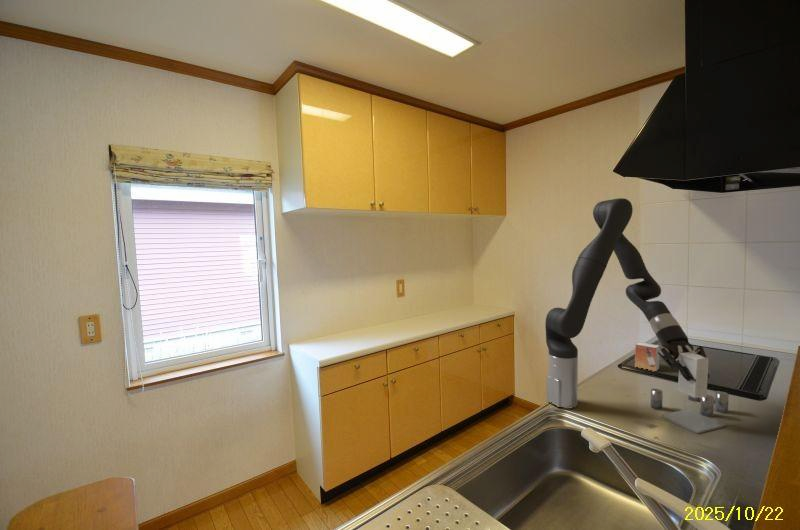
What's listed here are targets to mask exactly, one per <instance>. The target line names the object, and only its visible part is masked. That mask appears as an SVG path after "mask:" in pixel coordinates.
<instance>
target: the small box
mask: <svg viewBox="0 0 800 530" xmlns="http://www.w3.org/2000/svg"><path fill="white" fill-rule="evenodd" d="M660 346H661V345H660V344H653V343H652V344H651V343H644V342H640V341H639V342H637V343H636V344H635V349H634V350H635V351H634V353H635V354H634V368H636V367H638V369H641V368H643V369H642V370H646V369H648V370H647V371H650V370H652V371H651V372H654V371H656V372H657V371H658V370H659V369H660V355H659V354H658V352H659V351H660V350H661V349H660Z"/></svg>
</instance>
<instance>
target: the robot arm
mask: <svg viewBox="0 0 800 530" xmlns="http://www.w3.org/2000/svg"><path fill="white" fill-rule="evenodd" d="M592 216H593V219H594V221H595V223H596V225H597V226H598V228H599V229H600V231H599V233H598V234H597V236H595V237H594V239H593V240H592V241H590V242H589V243H588V244H587V245H586V247H584V249H583V250H581V252H580V253H579V255H578V257H577V259H576V262H575V264H574V266H573V269H572V273H571V283H572V294H571V297H570V300H569V301H568V304H567V307H566V308H563V307H553V308H551V309H550V310H549V311H548V312H547V314H546V317H545V323H544V324H545V339H546V340H545V341H546V346H547V348H548V374H547V375H546V377H545V378H546V380H545V381H546V383H545V384H546V389H545V391H546V393H545V394H546V395H545V396H546V399H545V400H546V402H547V403H549V402H550V401H551V400H552V401H551V402H552V403H553V404H555V405H557V406H559V407H569V408H568V409H571V408H570V407H575V408H577V407H578V398H579V397H578V396H579V395H578V390H579V389H578V383H579V382H578V381H579V380H578V375H579V374H578V373H579V372H578V371H579V370H578V368H579V366H578V364H579V360H578V357H579V354H578V353H579V351H578V348H577V346H576V345H575V344H574V343H573V341H572V339H573V338H575V337H577V336H579V335H580V333H581V332H582V330H583V329H584V325H585V323H586V319H587V316H588V313H589V311H590V306H591V304H592V301H593V298H594V296H595V294H596V292H597V288H598V286H599V284H600V282H601V279H602V278H603V275H604V274H605V273H604V272H605V271H606V269H607V267H608V264H609V260H610V259H611V256H612V254H613V253H614V254H615V256H616V258H617V260H618V263H619V265H620V268H621V270H622V272H623V275H624V277H625V278H626V279H628V280H642V279H643V280H642V281H638V282H636V283H631V284H629V285H628V286H627V287H626V288H625V295H626V298H628V299H629V300H630V302H631V303H633V304H634V305H635V306H636V307H637V308H638V309H639V310H640V311H641V312H642V313H643V315H644V316H645V318H646V319H647V321H648V323H649V325H650V328H651V329H652V331H653V333H654V334H655V337H656V338H657V340H658V342H660V346H662V347H661V349H660V351H659V352H658V354H659V357H660V358H661V359H662V360H663V361H665V363H666V364H667V365H668V367H670V368H671V369H677V370H678V372H679V371H680V372H681V374H682V376H683V377H684V378H685V379H686V380H687V381H691V380H692V379H693V376H692V375H691V373H690V371H689V370H688V368H687V367H685V363H684V360H683V359H684V358H683V357H682V356H681V353H687V352H690V353H695V354H698V355H701V356H703V357H706V358H708V357H707V355H706V352H705V350H704V348H703V346H701V345H700V346H698V347H697V346H694V345H692V344H691V343H690V342H689V337H688V335H687V334H686V333H685V331H684V329H683V328H682V326H681V325H680V323H679V322H678V321H677V319H676V318H675V317H674V316H673V314H672V313H671V311H670V309H669V308H668V307H667V305H666V304H665V303H664V302H663V301H660V300H652V299H656V298H658V297H660V296H661V294H662V287H661V286H660V285H659V283H658V282H657V281H656V280H655V279H654V277H653V276H652V274H650V273H649V271H648V269H647V267H646V265H645V261H644V259H643V256H642V255H641V253H640V251H639V249H637V247H636V246H635V245H634V244H633V243H632V242H631V241H630V240H629V239H628V238H627V237H626V236H625V235H624V231H625V230H626V228H627V227H628V224H629V222H630V221H631V219H632V216H633V204H632V202H631V201H630V200H629V199H627V198H621V197H619V198H618V197H617V198H612V199H607V200H602V201H598V202H597V203H596V204H595V206H594V207H593V211H592ZM649 300H650V301H649ZM651 300H652V301H651ZM708 379H710V374H709V373H708ZM551 402H550V403H551ZM550 403H549V404H550ZM576 406H577V407H576Z"/></svg>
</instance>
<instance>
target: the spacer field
mask: <svg viewBox="0 0 800 530" xmlns="http://www.w3.org/2000/svg"><path fill="white" fill-rule="evenodd" d="M663 394H664V393H663V390H662V389H658V388H650V408H651V409H652V410H655V411H656V410H657V411H662V410H663V399H664V398H663V397H664V396H663ZM714 395H715V397H714V396H712V395H710V394H707V396H706V397H699V398H695V397H692V396H690V395H687V397H688V400H689V401H691V402H698V403H699V402H700V409H699V411H700V413H699V414H701V415H703V416H706V417H708V418H713V417H714V411H716V412H718V413H721V414H728V413H729V397H730V396H729V395H730V394H729V393H727V392H725V391H722V390H721V391H720V390H718V391H717V390H716V391H715V394H714ZM714 398H715V399H714ZM714 402H715V403H714ZM714 404H715V405H714ZM714 409H715V410H714Z"/></svg>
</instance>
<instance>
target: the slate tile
mask: <svg viewBox="0 0 800 530" xmlns="http://www.w3.org/2000/svg"><path fill="white" fill-rule="evenodd" d="M659 415H660V417H659V418H661V419H664V420H666V421H668V422H671V423H672V424H674V425H678V426H680V427H682V428H684V429H686V430H689V431H691V432H694V433H695V434H701V433H703V434H704V433H706V432H709V431H713V430H717V428H718V429H721V427H722V428H724V426H727V425H726V423H723V422H720V421H718V420H715V419H713V418H712V417H707V416H703V415H701V414H700V413H699V412H695V411H693V410H690V409H688V408H685V409H682V410H681V409H680V410H677V411H676V410H675V411H673V412H668V413H664V414H659Z"/></svg>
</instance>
